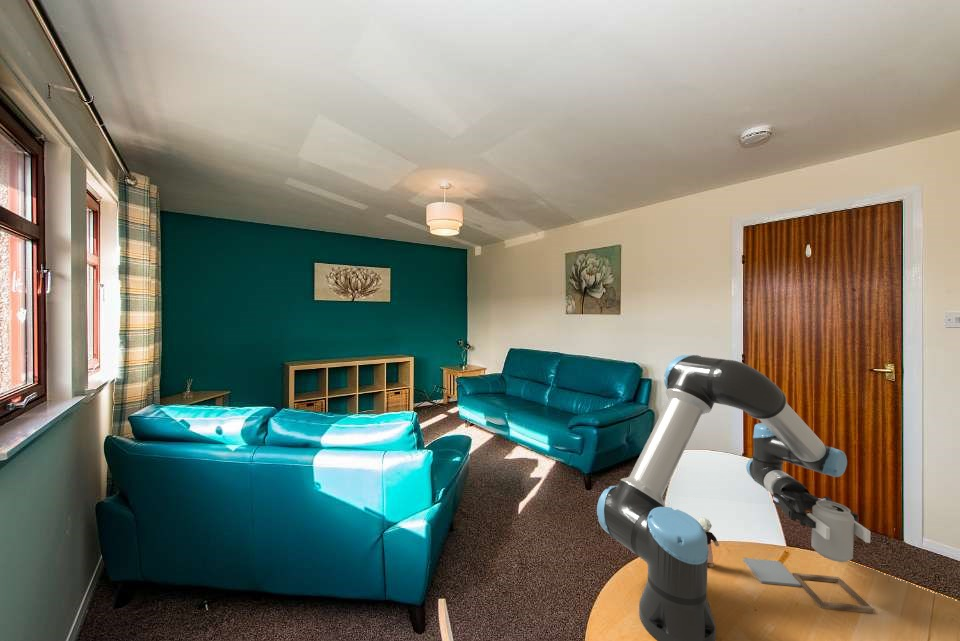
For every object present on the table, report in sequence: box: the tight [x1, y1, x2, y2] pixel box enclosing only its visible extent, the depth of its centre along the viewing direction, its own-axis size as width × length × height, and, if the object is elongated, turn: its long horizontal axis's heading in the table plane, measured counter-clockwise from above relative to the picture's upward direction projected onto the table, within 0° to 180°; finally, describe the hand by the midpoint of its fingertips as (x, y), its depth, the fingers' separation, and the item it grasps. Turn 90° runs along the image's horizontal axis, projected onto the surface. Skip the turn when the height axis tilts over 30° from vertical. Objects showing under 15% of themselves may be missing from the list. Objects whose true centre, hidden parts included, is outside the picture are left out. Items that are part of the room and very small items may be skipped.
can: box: [810, 500, 855, 563], centre depth 94 cm, size 8×8×12 cm
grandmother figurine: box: [697, 517, 720, 568], centre depth 105 cm, size 8×4×13 cm, turn 106°
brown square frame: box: [791, 572, 875, 614], centre depth 95 cm, size 11×11×1 cm
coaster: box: [742, 557, 802, 588], centre depth 102 cm, size 9×9×1 cm
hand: (847, 535), depth 89 cm, fingers closed on can, 7 cm apart
